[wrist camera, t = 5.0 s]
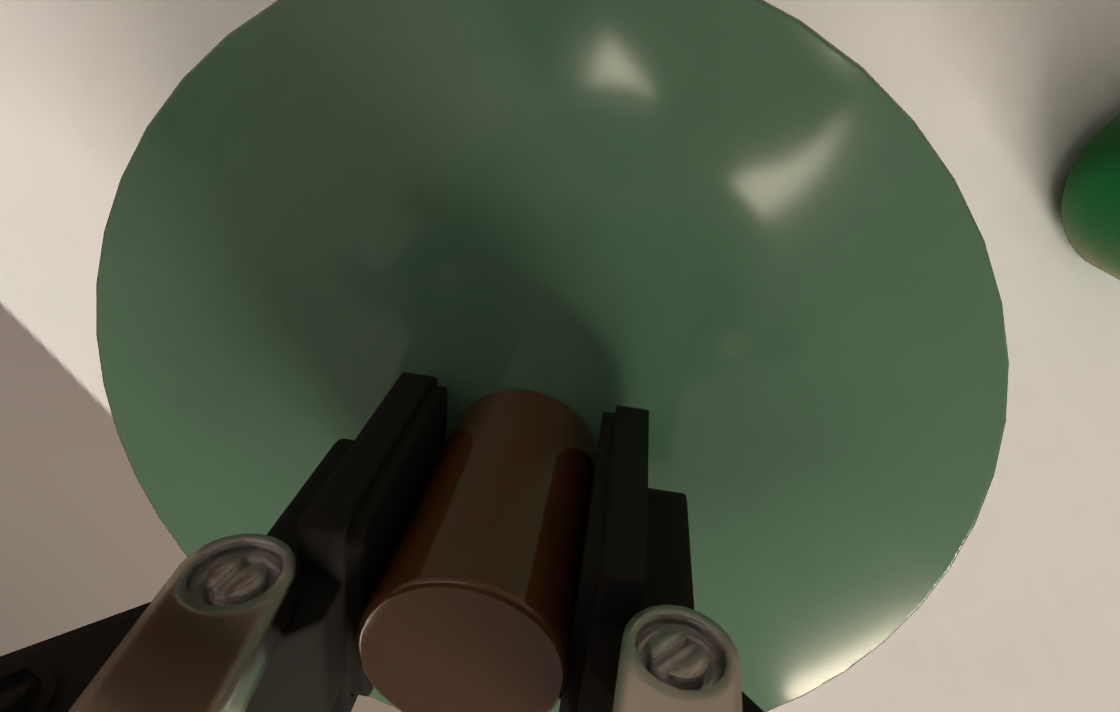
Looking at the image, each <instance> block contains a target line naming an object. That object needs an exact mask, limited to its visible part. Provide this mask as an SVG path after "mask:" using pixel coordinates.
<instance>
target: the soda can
mask: <svg viewBox="0 0 1120 712" xmlns="http://www.w3.org/2000/svg"><path fill="white" fill-rule="evenodd" d="M1061 216H1062V223H1063V227H1064V231H1065V234H1066V236H1067V238H1068V241H1069V243H1070V244H1071V245H1072V247H1073V248H1074V250H1075V251H1076V252H1077V253H1078V254H1079V255H1080V256H1081V257H1082V258H1083V259H1084V260H1085V261H1087V262H1088V263H1090V264H1091V265H1093V266H1095V267H1096V268H1098V269H1100V270H1102V271H1104V272H1106V273H1108V274H1110V275H1112V276H1114V277H1115V278H1117V279H1119V280H1120V114H1119V115H1118V116H1117V117H1115V118H1114V119H1112V120H1111V121H1110V122H1109V123H1108V124H1107V125H1105V126H1104V127H1103V128H1102V129H1101V130H1100V131H1099V132H1098V133H1097V134H1096V135H1095V136H1094V137H1093V138H1092V139H1091V141H1090V142H1089V143H1088V144H1087V145H1086V146H1085V148H1084V149H1083V151H1082V152H1081V154H1080V155H1079V157H1078V158H1077V160H1076V161H1075V163H1074V165H1073V167H1072V169H1071V171H1070V173H1069V175H1068V178H1067V181H1066V184H1065V187H1064V191H1063V197H1062V203H1061Z"/></svg>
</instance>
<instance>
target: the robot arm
mask: <svg viewBox="0 0 1120 712" xmlns="http://www.w3.org/2000/svg"><path fill="white" fill-rule="evenodd" d="M447 398H448V391H447V388H446V387H443V386H438V382H437V378H436V377H433V376H427V375H420V374H414V373H408V372H403V373H402V374H401V375H400V376H399V378H398V379H397V381H396V382H395V383H394V385H393V386H392V388H391V389H390V390H389V392H388V393H387V395H386V396H385V398H384V399H383V400H382V402H381V403H380V405H379V406H378V408H377V409H376V410H375V412H374V413H373V415H372V416H371V417H370V419H369V420H368V422H367V423H366V425H365V426H364V427H363V429H362V430H361V432H360V433H359V435H358V436H357V437H356V439H355V440H350V439H344V438H343V439H339V440H338V441H337V442H336V443H335V444H334V445H333V446H332V448H331V449H330V450H329V452H328V453H327V454H326V456H325V457H324V458H323V460H322V461H321V462H320V464H319V465H318V466H317V468H316V469H315V470H314V472H313V473H312V474H311V476H310V477H309V478H308V480H307V481H306V482H305V484H304V485H303V486H302V488H301V489H300V490H299V492H298V493H297V495H296V496H295V497H294V499H293V500H292V501H291V503H290V504H289V505H288V507H287V508H286V509H285V511H284V512H283V513H282V515H281V516H280V517H279V519H278V520H277V521H276V523H275V524H274V525H273V527H272V528H271V529H270V531H269V532H268V533H267V535H264V534H246V533H243V534H237V535H232V536H226V537H223V538H220V539H218V540H215V541H212V542H210V543H207V544H205V545H204V546H202V547H200V548H199V549H197V550H196V551H194V552H192V553H191V554H190V555H189V556H188V557H187V558H186V559H185V560H184V561H183V562H182V563H181V564H180V565H179V566H178V568H177V569H176V570H175V571H174V573H173V574H172V576H171V577H170V578H169V579H168V581H167V582H166V583H165V585H164V586H163V587H162V589H161V590H160V591H159V593H158V594H157V595H156V596H155V598H154V599H153V600H152V602H149V603H147V604H144V605H141V606H138V607H136V608H133V609H130V610H127V611H125V612H122V613H119V614H117V615H114V616H111V617H108V618H105V619H103V620H100V621H97V622H94V623H92V624H89V625H86V626H83V627H81V628H78V629H75V630H72V631H70V632H67V633H64V634H62V635H59V636H56V637H53V638H50V639H48V640H45V641H42V642H39V643H37V644H34V645H31V646H28V647H26V648H23V649H20V650H17V651H15V652H12V653H9V654H6V655H4V656H1V657H0V712H351V710H352V708H353V705H354V703H355V701H356V699H357V696H358V695H363V696H369V695H370V694H371V692H372V690H373V688H374V687H373V686H372V684H371V683H370V682H369V680H368V679H367V677H366V675H365V674H364V672H363V670H362V667H361V665H360V663H359V659H358V656H357V650H356V629H357V625H358V621H359V619H360V617H361V614H362V612H363V610H364V608H365V606H366V604H367V602H368V600H369V598H370V596H371V594H372V592H373V590H374V588H375V586H376V583H377V581H378V579H379V577H380V575H381V573H382V571H383V569H384V567H385V565H386V563H387V561H388V559H389V557H390V555H391V553H392V551H393V549H394V547H395V544H396V542H397V540H398V538H399V536H400V534H401V532H402V530H403V528H404V526H405V524H406V522H407V520H408V518H409V516H410V514H411V512H412V510H413V508H414V505H415V503H416V501H417V499H418V497H419V495H420V493H421V491H422V489H423V487H424V485H425V483H426V481H427V479H428V477H429V475H430V473H431V471H432V469H433V466H434V464H435V462H436V460H437V458H438V456H439V454H440V452H441V450H442V448H443V446H444V444H445V442H446V422H447ZM648 451H649V410H646V409H640V408H633V407H627V406H620V405H617V406H616V411H615V413H610V412H604V411H603V415H602V421H601V427H600V434H599V440H598V446H597V452H596V459H595V465H594V472H593V480H592V487H591V495H590V502H589V510H588V518H587V525H586V533H585V540H584V548H583V555H582V563H581V570H580V578H579V585H578V593H577V601H576V608H575V616H574V623H573V631H572V638H571V665H570V673H569V679H568V683H567V687H566V689H565V691H564V693H563V695H562V697H561V700H560V708H559V712H764V711H763V710H762V709H761V708H760V707H759V706H757V705H756V704H755V703H754V702H753V701H752V700H751V699H750V698H749V697H748V696H747V695H746V694H745V693H744V692H743V691H742V690H741V671H740V661H739V657H738V653H737V648H736V647H735V645H734V643H733V642H732V640H731V638H730V637H729V635H728V633H727V632H726V631H724V630H723V629H722V628H721V627H720V626H719V625H718V624H717V623H716V622H715V621H714V620H712V619H710V618H709V617H707V616H705V615H704V614H702V613H701V612H698V611H696V610H694V596H693V582H692V567H691V552H690V537H689V523H688V508H687V498H686V495H685V494H684V493H678V492H672V491H666V490H659V489H653V488H648Z"/></svg>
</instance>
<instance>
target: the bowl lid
mask: <svg viewBox="0 0 1120 712" xmlns="http://www.w3.org/2000/svg"><path fill="white" fill-rule="evenodd" d="M97 341H98V348H99V355H100V362H101V369H102V376H103V383H104V387H105V391H106V395H107V398H108V402H109V405H110V409H111V412H112V416H113V419H114V423H115V427H116V430H117V433H118V435H119V438H120V440H121V443H122V445H123V447H124V450H125V452H126V454H127V457H128V459H129V462H130V464H131V466H132V469H133V471H134V473H135V476H136V478H137V480H138V481H139V483H140V485H141V487H142V488H143V490H144V492H145V494H146V495H147V497H148V499H149V501H150V503H151V504H152V506H153V508H154V510H155V511H156V513H157V515H158V517H159V518H160V520H161V521H162V522H163V524H164V525H165V527H166V528H167V529H168V531H169V532H170V534H171V535H172V537H173V538H174V539H175V541H176V542H177V543H178V545H179V546H180V548H181V549H182V550H183V552H184V553H185V555H186V556H187V557H188V556H189V555H190V554H191V553H192V552H194V551H196V550H197V549H199V548H200V547H202V546H204V545H205V544H207V543H210V542H212V541H215V540H218V539H220V538H223V537H226V536H232V535H237V534H243V533H246V534H264V535H267V533H268V532H269V531H270V529H271V528H272V527H273V525H274V524H275V523H276V521H277V520H278V519H279V517H280V516H281V515H282V513H283V512H284V511H285V509H286V508H287V507H288V505H289V504H290V503H291V501H292V500H293V499H294V497H295V496H296V495H297V493H298V492H299V490H300V489H301V488H302V486H303V485H304V484H305V482H306V481H307V480H308V478H309V477H310V476H311V474H312V473H313V472H314V470H315V469H316V468H317V466H318V465H319V464H320V462H321V461H322V460H323V458H324V457H325V456H326V454H327V453H328V452H329V450H330V449H331V448H332V446H333V445H334V444H335V443H336V442H337V441H338V440H339V439H343V438H344V439H350V440H355V439H356V437H357V436H358V435H359V433H360V432H361V430H362V429H363V427H364V426H365V425H366V423H367V422H368V420H369V419H370V417H371V416H372V415H373V413H374V412H375V410H376V409H377V408H378V406H379V405H380V403H381V402H382V400H383V399H384V398H385V396H386V395H387V393H388V392H389V390H390V389H391V388H392V386H393V385H394V383H395V382H396V381H397V379H398V378H399V376H400V375H401V374H402V373H403V372H408V373H414V374H420V375H427V376H433V377H436V378H437V382H438V386H443V387H446V388H447V391H448V398H447V422H446V442H445V444H444V446H443V448H442V450H441V452H440V454H439V456H438V458H437V460H436V462H435V464H434V466H433V469H432V471H431V473H430V475H429V477H428V479H427V481H426V483H425V485H424V487H423V489H422V491H421V493H420V495H419V497H418V499H417V501H416V503H415V505H414V508H413V510H412V512H411V514H410V516H409V518H408V520H407V522H406V524H405V526H404V528H403V530H402V532H401V534H400V536H399V538H398V540H397V542H396V544H395V547H394V549H393V551H392V553H391V555H390V557H389V559H388V561H387V563H386V565H385V567H384V569H383V571H382V573H381V575H380V577H379V579H378V581H377V583H376V586H375V588H374V590H373V592H372V594H371V596H370V598H369V600H368V602H367V604H366V606H365V608H364V610H363V612H362V614H361V617H360V619H359V621H358V625H357V629H356V650H357V656H358V659H359V663H360V665H361V667H362V670H363V672H364V674H365V675H366V677H367V679H368V680H369V682H370V683H371V684H372V686H373V687H374V688H373V690H372V692H371V694H370V695H369V697H371V698H374V699H376V700H379V701H381V702H383V703H386V704H388V705H390V706H393V707H396V708H397V709H399V710H400V711H402V712H559V708H560V700H561V697H562V695H563V693H564V691H565V689H566V687H567V683H568V679H569V673H570V665H571V638H572V631H573V623H574V616H575V608H576V601H577V593H578V585H579V578H580V570H581V563H582V555H583V548H584V540H585V533H586V525H587V518H588V510H589V502H590V495H591V487H592V480H593V472H594V465H595V459H596V452H597V446H598V440H599V434H600V427H601V421H602V415H603V411H604V412H610V413H615V411H616V406H617V405H620V406H627V407H633V408H640V409H646V410H649V451H648V488H653V489H659V490H666V491H672V492H678V493H684V494H685V495H686V498H687V508H688V523H689V537H690V552H691V567H692V582H693V596H694V610H696V611H698V612H701V613H702V614H704V615H705V616H707V617H709V618H710V619H712V620H714V621H715V622H716V623H717V624H718V625H719V626H720V627H721V628H722V629H723V630H724V631H726V632H727V633H728V635H729V637H730V638H731V640H732V642H733V643H734V645H735V647H736V648H737V653H738V657H739V661H740V671H741V690H742V691H743V692H744V693H745V694H746V695H747V696H748V697H749V698H750V699H751V700H752V701H753V702H754V703H755V704H756V705H757V706H759V707H760V708H761V709H762V710H763V711H764V712H767V711H770V710H772V709H774V708H776V707H779V706H781V705H783V704H785V703H787V702H790V701H792V700H794V699H796V698H799V697H801V696H803V695H805V694H807V693H809V692H810V691H812V690H814V689H816V688H817V687H819V686H821V685H822V684H824V683H826V682H827V681H829V680H831V679H833V678H834V677H836V676H838V675H839V674H841V673H843V672H844V671H846V670H847V669H849V668H850V667H851V666H853V665H854V664H855V663H857V662H858V661H859V660H861V659H862V658H863V657H865V656H866V655H867V654H869V653H870V652H871V651H872V650H874V649H875V648H876V647H878V646H879V645H880V644H882V643H883V642H884V641H885V640H886V639H887V638H888V637H889V636H890V635H891V634H892V633H893V632H894V631H896V630H897V629H898V628H899V627H900V626H901V625H902V624H903V623H904V622H905V621H906V620H907V619H908V618H909V617H910V616H911V615H912V614H913V613H914V612H915V611H916V610H917V609H918V608H919V607H920V606H921V604H922V603H923V602H924V600H925V599H926V598H927V597H928V595H929V594H930V593H931V591H932V590H933V589H934V588H935V586H936V585H937V584H938V583H939V581H940V580H941V579H942V577H943V576H944V575H945V574H946V572H947V571H948V570H949V568H950V567H951V565H952V563H953V561H954V560H955V558H956V556H957V554H958V553H959V551H960V549H961V547H962V546H963V544H964V542H965V541H966V539H967V537H968V535H969V534H970V532H971V530H972V528H973V527H974V525H975V523H976V520H977V517H978V515H979V512H980V510H981V507H982V505H983V502H984V499H985V497H986V494H987V492H988V489H989V487H990V484H991V481H992V479H993V476H994V473H995V468H996V464H997V459H998V454H999V450H1000V445H1001V440H1002V436H1003V431H1004V427H1005V422H1006V405H1007V386H1008V367H1009V361H1008V352H1007V344H1006V335H1005V326H1004V317H1003V308H1002V301H1001V298H1000V294H999V291H998V287H997V284H996V280H995V277H994V273H993V270H992V266H991V263H990V259H989V256H988V252H987V249H986V245H985V242H984V239H983V237H982V235H981V233H980V231H979V229H978V227H977V225H976V223H975V221H974V218H973V216H972V214H971V212H970V210H969V208H968V206H967V204H966V202H965V200H964V197H963V195H962V193H961V191H960V189H959V187H958V185H957V183H956V181H955V179H954V178H953V176H952V175H951V173H950V172H949V170H948V169H947V167H946V166H945V165H944V163H943V162H942V160H941V159H940V157H939V156H938V155H937V153H936V152H935V150H934V149H933V147H932V146H931V144H930V143H929V142H928V140H927V139H926V137H925V136H924V134H923V133H922V131H921V130H920V129H919V127H918V126H917V124H916V123H915V121H914V120H913V119H912V118H911V117H910V116H909V115H908V114H907V113H906V112H905V111H904V110H903V109H902V108H901V107H900V106H899V105H898V104H897V103H896V102H895V101H894V100H893V99H892V98H891V96H890V95H889V94H888V93H887V92H886V91H885V90H884V89H883V88H882V87H881V86H880V85H879V84H878V83H877V82H876V81H875V80H874V79H873V78H872V77H871V76H870V75H869V74H868V73H867V72H866V70H865V69H864V68H863V67H861V66H860V65H859V64H857V63H856V62H855V61H853V60H852V59H851V58H849V57H848V56H847V55H845V54H844V53H843V52H841V51H840V50H839V49H837V48H836V47H835V46H834V45H832V44H831V43H830V42H828V41H827V40H826V39H824V38H823V37H822V36H820V35H819V34H818V33H816V32H815V31H814V30H812V29H811V28H810V27H808V26H807V25H806V24H805V23H803V22H802V21H800V20H799V19H797V18H795V17H793V16H791V15H789V14H787V13H786V12H784V11H782V10H780V9H778V8H776V7H774V6H773V5H771V4H769V3H767V2H765V1H763V0H278V1H276V2H275V3H273V4H272V5H270V6H269V7H267V8H266V9H264V10H263V11H261V12H260V13H259V14H257V15H256V16H254V17H253V18H251V19H250V20H248V21H247V22H245V23H244V24H242V25H241V26H240V27H238V28H237V29H235V30H234V31H232V32H231V33H229V34H228V35H227V36H226V37H225V38H224V39H223V40H222V41H221V42H220V43H219V44H218V45H217V46H216V47H215V48H214V49H213V50H212V51H211V52H210V53H208V54H207V55H206V56H205V57H204V58H203V59H202V60H201V61H200V62H199V63H198V64H197V65H196V66H195V67H194V68H193V69H192V70H191V71H190V72H189V73H188V74H187V75H186V76H185V77H184V78H183V79H182V80H181V82H180V83H179V84H178V86H177V87H176V88H175V90H174V91H173V92H172V94H171V95H170V97H169V98H168V99H167V101H166V102H165V103H164V105H163V106H162V107H161V109H160V110H159V111H158V113H157V114H156V116H155V117H154V118H153V120H152V121H151V122H150V124H149V125H148V126H147V128H146V130H145V132H144V134H143V136H142V138H141V140H140V142H139V144H138V146H137V148H136V150H135V152H134V154H133V156H132V158H131V160H130V162H129V164H128V166H127V168H126V170H125V172H124V174H123V175H122V177H121V180H120V183H119V186H118V189H117V193H116V196H115V199H114V202H113V205H112V208H111V212H110V215H109V218H108V221H107V224H106V227H105V231H104V237H103V243H102V250H101V257H100V264H99V270H98V277H97Z"/></svg>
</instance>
